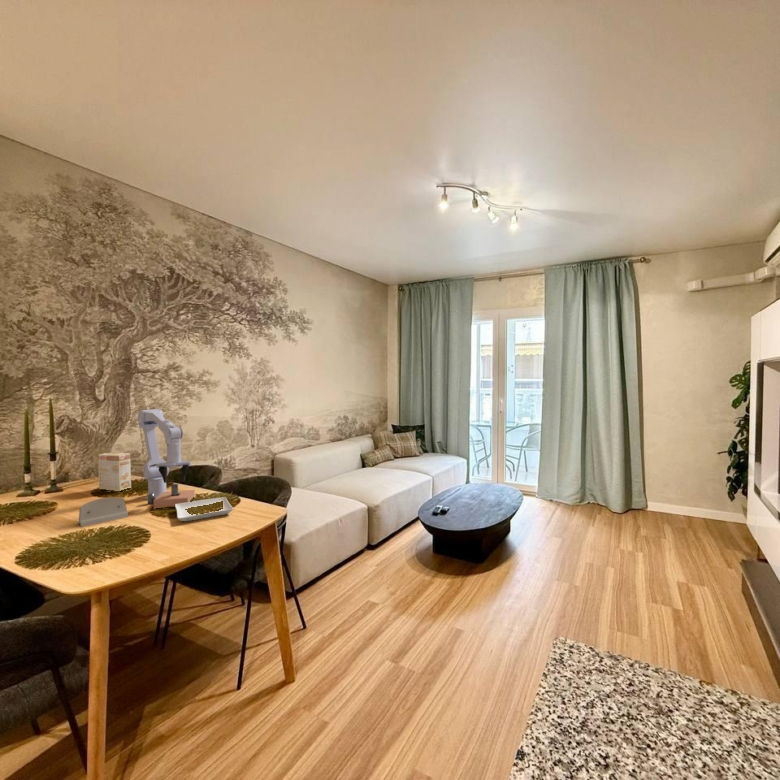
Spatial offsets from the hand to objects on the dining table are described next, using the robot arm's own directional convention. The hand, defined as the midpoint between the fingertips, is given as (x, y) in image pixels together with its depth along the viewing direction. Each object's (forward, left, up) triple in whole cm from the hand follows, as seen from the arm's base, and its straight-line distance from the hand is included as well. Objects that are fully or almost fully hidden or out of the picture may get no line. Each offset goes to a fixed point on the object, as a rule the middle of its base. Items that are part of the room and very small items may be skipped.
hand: (174, 481), depth 186 cm
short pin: (-3, -11, -10) cm, 15 cm away
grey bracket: (+16, -23, -11) cm, 30 cm away
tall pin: (0, 0, -10) cm, 10 cm away
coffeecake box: (-36, -38, -10) cm, 53 cm away
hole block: (0, 0, -10) cm, 10 cm away
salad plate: (+19, +16, -11) cm, 27 cm away
